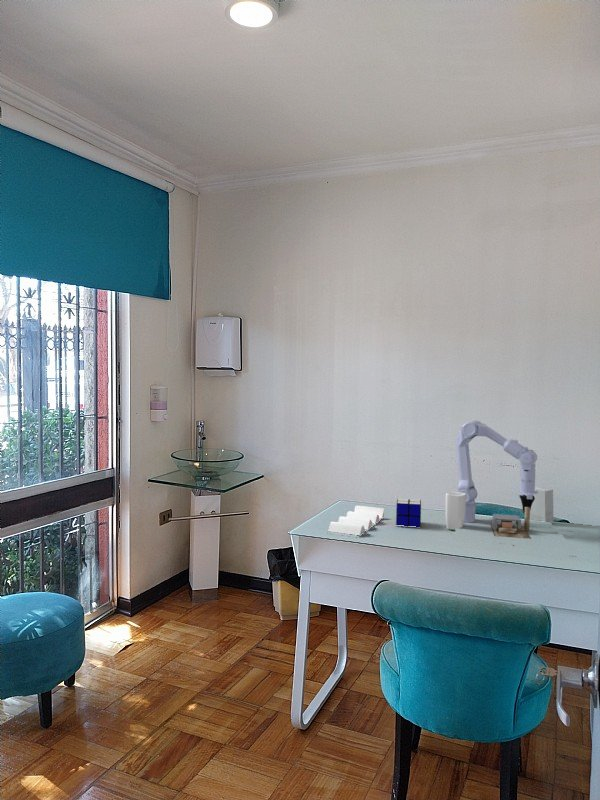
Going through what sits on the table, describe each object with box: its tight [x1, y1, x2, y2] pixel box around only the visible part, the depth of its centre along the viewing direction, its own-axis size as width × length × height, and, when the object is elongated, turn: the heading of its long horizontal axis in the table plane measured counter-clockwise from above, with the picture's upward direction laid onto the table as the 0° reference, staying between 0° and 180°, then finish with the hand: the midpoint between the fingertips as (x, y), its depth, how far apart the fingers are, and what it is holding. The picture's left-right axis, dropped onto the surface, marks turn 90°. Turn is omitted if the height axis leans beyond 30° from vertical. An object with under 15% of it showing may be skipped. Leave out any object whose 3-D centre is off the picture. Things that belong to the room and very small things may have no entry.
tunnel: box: [491, 513, 522, 532], centre depth 252 cm, size 10×8×5 cm
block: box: [500, 520, 514, 529], centre depth 250 cm, size 4×4×4 cm
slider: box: [497, 507, 531, 533], centre depth 249 cm, size 12×8×9 cm, turn 78°
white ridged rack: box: [327, 505, 385, 536], centre depth 261 cm, size 13×35×5 cm, turn 156°
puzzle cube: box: [395, 498, 422, 528], centre depth 264 cm, size 10×10×10 cm
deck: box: [489, 523, 532, 540], centre depth 251 cm, size 14×20×2 cm
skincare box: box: [530, 486, 554, 524], centre depth 271 cm, size 8×6×15 cm
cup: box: [445, 491, 466, 531], centre depth 257 cm, size 7×7×15 cm
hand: (526, 513), depth 253 cm, fingers closed
